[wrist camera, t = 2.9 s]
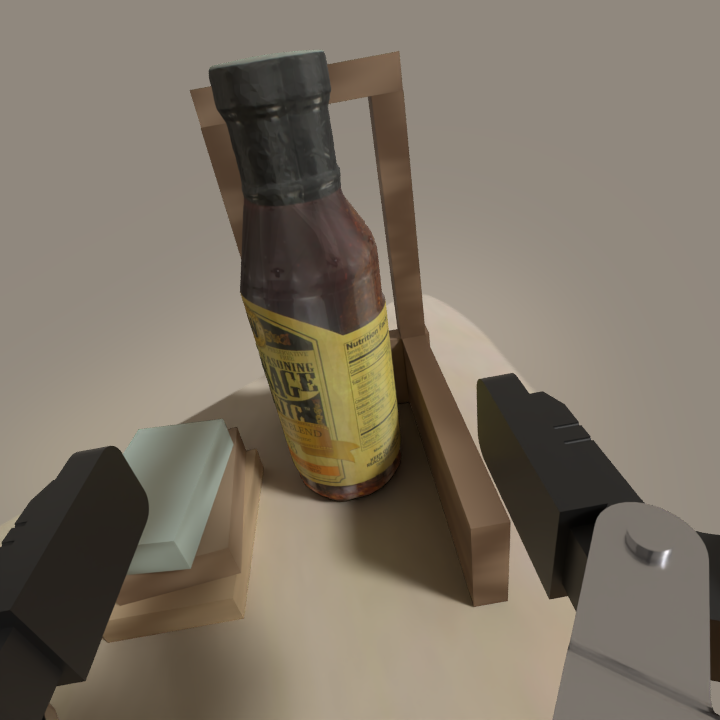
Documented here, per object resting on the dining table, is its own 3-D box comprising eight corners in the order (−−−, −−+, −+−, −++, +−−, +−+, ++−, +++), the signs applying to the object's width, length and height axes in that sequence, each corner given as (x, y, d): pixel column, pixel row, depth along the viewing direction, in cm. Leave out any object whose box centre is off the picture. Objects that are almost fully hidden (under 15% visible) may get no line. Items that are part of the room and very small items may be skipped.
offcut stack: (110, 645, 19) (44, 573, 16) (168, 487, 27) (130, 419, 24) (249, 620, 19) (208, 543, 16) (267, 469, 27) (242, 399, 24)
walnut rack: (279, 642, 18) (2, 88, 8) (293, 410, 31) (196, 90, 21) (514, 599, 18) (546, -14, 8) (429, 385, 31) (399, 52, 21)
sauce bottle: (283, 459, 27) (153, 81, 17) (369, 416, 29) (302, 58, 19) (330, 533, 22) (186, 58, 12) (430, 474, 24) (384, 30, 14)
